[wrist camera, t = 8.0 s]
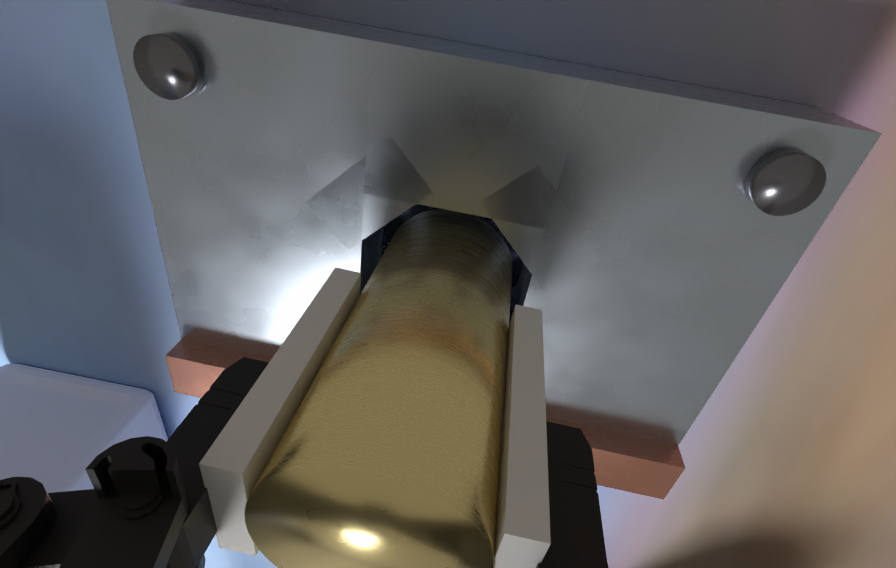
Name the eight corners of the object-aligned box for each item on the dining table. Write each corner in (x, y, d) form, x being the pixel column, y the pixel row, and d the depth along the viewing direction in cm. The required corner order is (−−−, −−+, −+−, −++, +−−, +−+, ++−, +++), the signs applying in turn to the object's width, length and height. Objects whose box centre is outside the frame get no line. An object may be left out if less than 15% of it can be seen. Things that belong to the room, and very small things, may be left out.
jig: (227, 331, 22) (174, 391, 19) (176, -9, 15) (73, -8, 11) (642, 420, 22) (663, 499, 18) (817, 107, 14) (909, 145, 11)
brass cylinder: (383, 304, 18) (255, 580, 10) (391, 196, 15) (230, 441, 7) (497, 328, 18) (469, 631, 9) (525, 222, 15) (520, 506, 7)
